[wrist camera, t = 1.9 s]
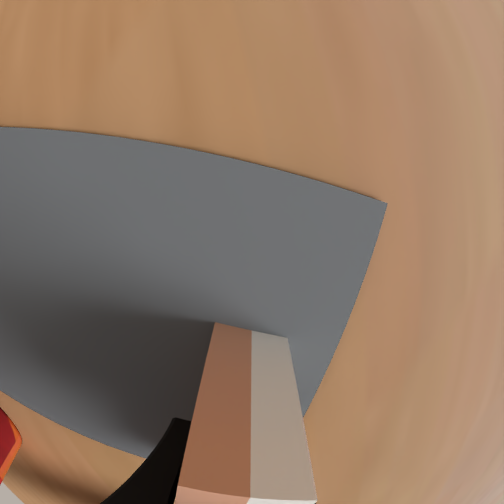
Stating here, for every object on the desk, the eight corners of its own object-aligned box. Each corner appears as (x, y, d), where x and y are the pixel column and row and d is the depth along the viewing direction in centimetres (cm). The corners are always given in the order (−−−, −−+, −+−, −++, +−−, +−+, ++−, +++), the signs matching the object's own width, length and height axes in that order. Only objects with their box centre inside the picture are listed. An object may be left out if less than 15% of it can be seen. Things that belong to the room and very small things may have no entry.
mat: (265, 475, 12) (265, 481, 12) (-37, 357, 11) (-40, 360, 11) (382, 201, 9) (387, 203, 8) (-51, 127, 8) (-56, 127, 7)
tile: (235, 468, 11) (229, 574, 6) (185, 458, 11) (165, 564, 6) (287, 337, 10) (317, 500, 4) (215, 322, 9) (177, 485, 4)
